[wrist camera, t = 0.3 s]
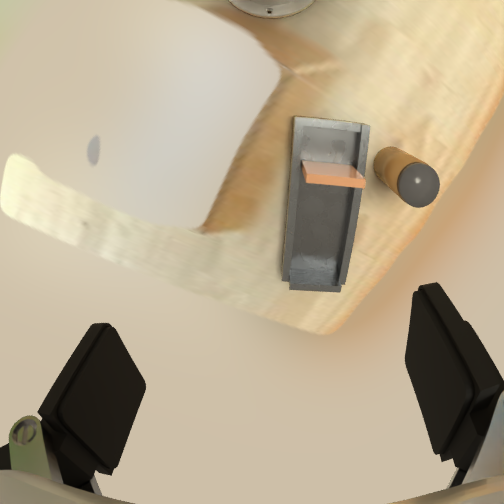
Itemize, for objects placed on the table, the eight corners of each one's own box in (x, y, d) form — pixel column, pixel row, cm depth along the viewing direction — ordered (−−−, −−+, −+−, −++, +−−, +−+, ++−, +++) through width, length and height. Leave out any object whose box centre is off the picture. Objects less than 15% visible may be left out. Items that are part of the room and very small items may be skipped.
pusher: (301, 160, 39) (306, 173, 33) (351, 165, 38) (365, 179, 32) (301, 168, 39) (306, 182, 33) (350, 172, 39) (364, 188, 33)
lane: (293, 115, 37) (296, 118, 33) (363, 123, 37) (375, 127, 33) (281, 270, 48) (281, 289, 43) (341, 273, 47) (347, 292, 43)
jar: (376, 144, 38) (403, 160, 29) (410, 149, 38) (444, 167, 29) (371, 180, 40) (395, 205, 32) (404, 184, 40) (435, 210, 31)
